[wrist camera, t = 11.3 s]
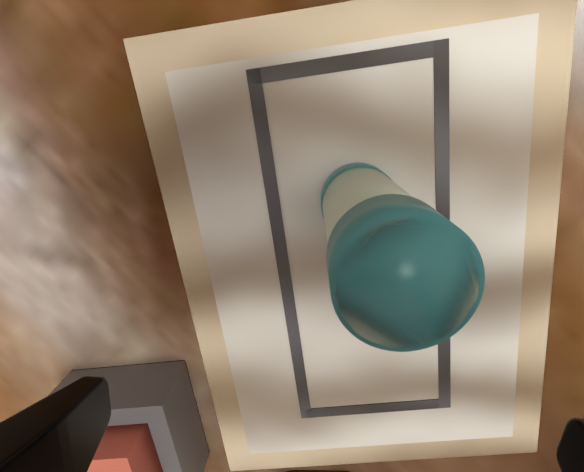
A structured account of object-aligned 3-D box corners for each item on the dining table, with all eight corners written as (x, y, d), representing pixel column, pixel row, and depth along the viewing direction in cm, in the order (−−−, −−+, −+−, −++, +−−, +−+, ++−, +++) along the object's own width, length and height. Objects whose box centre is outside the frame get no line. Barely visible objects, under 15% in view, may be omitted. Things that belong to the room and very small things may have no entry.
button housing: (209, 452, 24) (192, 507, 20) (105, 459, 24) (73, 514, 21) (184, 360, 21) (161, 405, 18) (71, 370, 22) (29, 416, 19)
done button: (169, 464, 21) (148, 518, 18) (104, 468, 22) (73, 522, 19) (152, 409, 20) (126, 457, 17) (83, 414, 20) (46, 463, 18)
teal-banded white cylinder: (396, 230, 17) (483, 345, 9) (323, 238, 17) (337, 357, 9) (392, 156, 16) (487, 204, 8) (315, 166, 16) (322, 223, 8)
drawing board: (527, 437, 22) (539, 455, 21) (233, 456, 24) (229, 475, 22) (563, -28, 15) (585, -41, 14) (133, 43, 16) (119, 37, 15)
